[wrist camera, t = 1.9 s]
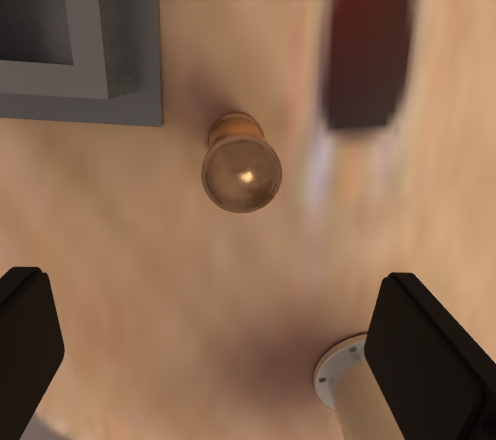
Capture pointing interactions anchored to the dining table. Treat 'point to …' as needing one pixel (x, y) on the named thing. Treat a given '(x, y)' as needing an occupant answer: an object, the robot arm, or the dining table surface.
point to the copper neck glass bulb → (240, 165)
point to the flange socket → (81, 61)
